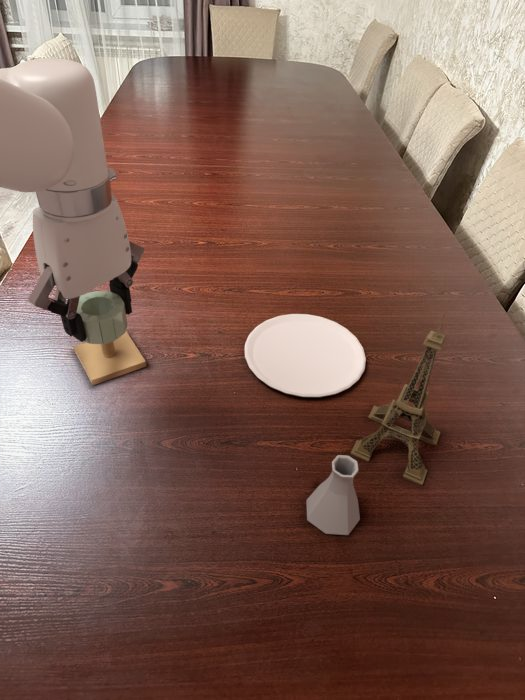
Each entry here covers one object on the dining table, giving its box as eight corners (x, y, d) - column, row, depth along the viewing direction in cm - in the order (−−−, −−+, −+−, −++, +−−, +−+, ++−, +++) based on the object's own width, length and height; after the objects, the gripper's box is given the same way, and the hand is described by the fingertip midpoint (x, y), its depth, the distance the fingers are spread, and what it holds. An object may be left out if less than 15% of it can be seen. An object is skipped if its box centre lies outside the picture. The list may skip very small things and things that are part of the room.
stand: (92, 385, 82) (80, 331, 74) (74, 351, 87) (61, 297, 80) (146, 366, 86) (139, 313, 78) (126, 334, 91) (118, 282, 84)
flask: (353, 545, 65) (369, 501, 58) (298, 524, 66) (307, 480, 60) (365, 497, 70) (381, 452, 63) (313, 479, 71) (323, 433, 65)
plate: (381, 395, 84) (383, 390, 83) (253, 406, 81) (254, 401, 80) (345, 315, 99) (346, 309, 98) (236, 321, 96) (236, 316, 95)
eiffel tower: (373, 406, 82) (413, 273, 65) (439, 433, 79) (500, 301, 62) (350, 454, 75) (388, 319, 58) (421, 485, 72) (484, 352, 55)
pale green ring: (85, 350, 65) (79, 328, 62) (70, 321, 69) (64, 299, 66) (134, 334, 67) (131, 312, 65) (117, 307, 71) (113, 285, 69)
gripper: (116, 159, 62) (132, 282, 74) (-23, 208, 52) (23, 342, 64) (159, 178, 59) (169, 304, 71) (21, 235, 48) (60, 371, 61)
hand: (100, 321), depth 67 cm, fingers closed on pale green ring, 6 cm apart
